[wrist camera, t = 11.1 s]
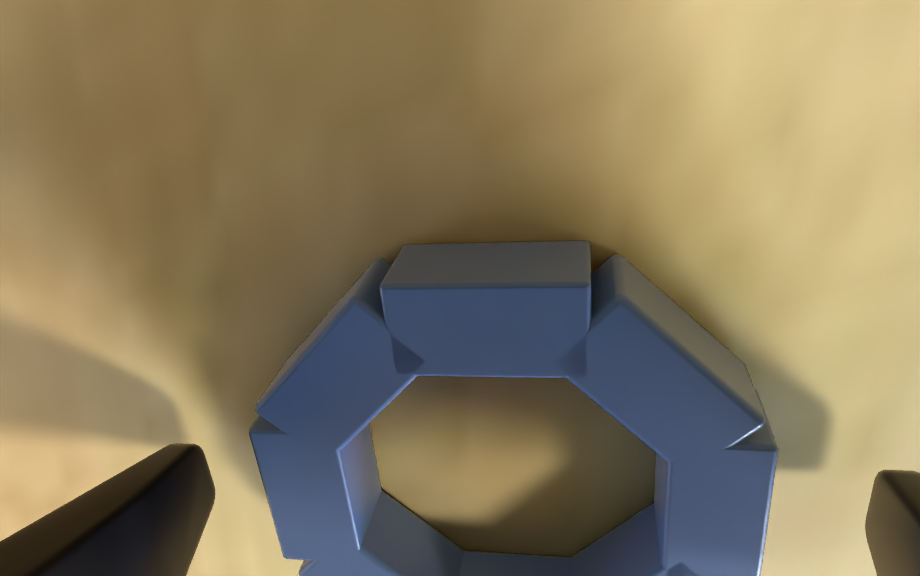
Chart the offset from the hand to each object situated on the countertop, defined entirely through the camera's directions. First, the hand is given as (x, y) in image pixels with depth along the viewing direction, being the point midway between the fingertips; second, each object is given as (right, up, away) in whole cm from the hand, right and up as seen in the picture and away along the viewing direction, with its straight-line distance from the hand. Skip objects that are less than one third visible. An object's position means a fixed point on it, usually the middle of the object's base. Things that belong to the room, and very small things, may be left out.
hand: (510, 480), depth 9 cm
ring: (0, 0, +1) cm, 1 cm away
